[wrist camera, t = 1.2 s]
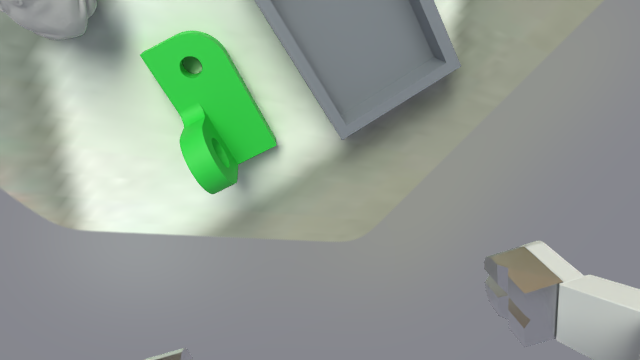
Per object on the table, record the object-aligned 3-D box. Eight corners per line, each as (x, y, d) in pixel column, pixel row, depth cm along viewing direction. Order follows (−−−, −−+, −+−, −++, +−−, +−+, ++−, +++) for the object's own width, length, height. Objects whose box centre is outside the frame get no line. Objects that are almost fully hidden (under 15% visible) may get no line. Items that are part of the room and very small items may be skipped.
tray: (359, -137, 32) (371, -149, 28) (444, 58, 39) (461, 66, 36) (227, -44, 33) (225, -46, 30) (335, 127, 41) (342, 140, 37)
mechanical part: (275, 137, 40) (280, 173, 33) (220, 165, 41) (214, 205, 34) (208, 17, 35) (197, 29, 28) (145, 50, 35) (119, 70, 28)
